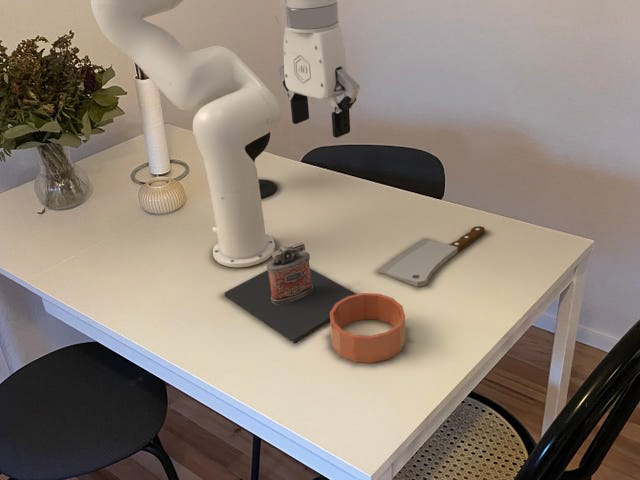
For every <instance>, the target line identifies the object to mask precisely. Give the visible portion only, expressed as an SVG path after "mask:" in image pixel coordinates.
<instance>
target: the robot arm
mask: <svg viewBox="0 0 640 480" xmlns="http://www.w3.org/2000/svg"><path fill="white" fill-rule="evenodd" d="M183 1H184V0H90V7H91V10H92V15H93V17H94V20H95V21H96V23H97V26H98V27H99V29H100V30H101V32H102V33H103V35H104V36H105V37H106V39H107V40H108V41H109V42H110V43H111V44H112V45H113V46H114V47H115V48H116V49H117V50H119V51H120V52H121V53H122V54H124V55H125V56H126V57H128V59H130V60H131V61H132V62H133V63H134V64H135V65H136V66H138V68H139V69H140V70H142V72H143V73H144V74H145V76H147V77H148V79H149V80H150V81H151V82H152V83H153V84H154V86H156V87H157V88H158V89H159V90H160V92H161V93H162V94H163V95H164V96H165V97H166V98H167V99H168V100H169V101H170V102H171V103H172V104H173V105H174V106H175V107H176V108H178V109H179V110H181V111H192V110H195V109H199V110H197V112H196V114H195V115H194V117H193V120H192V132H193V136H194V139H195V141H196V144H197V147H198V148H199V152H200V155H201V158H202V161H203V165H204V169H205V173H206V178H207V184H208V188H209V193H210V200H211V205H212V212H213V217H214V222H215V225H214V226H213V227H212V228H211V229H212V230H211V231H212V232H213V233H214V234H216V236H217V243H215V245H214V246H213V248H212V254H213V258H214V260H215V261H216V262H217V263H218V264H220V265H222V266H225V267H229V268H247V267H248V268H249V267H252V266H256V265H259V264H262V263H264V262H265V261H266V260H268V259H270V257H272V253H273V252H275V250H276V243H275V241H274V239H273V237H271V236H270V235H268V234H267V233H266V226H265V225H266V224H265V219H264V211H263V203H262V199H261V195H260V188H259V180H258V179H259V175H258V169H257V165H256V162H255V163H254V162H253V160H252V159H251V158H250V157H249V156H248V154H247V153H246V151H245V146H246V145H247V144H249V143H251V142H252V141H254V140H256V139H258V138H260V137H262V136H264V135H266V134H267V133H269V132H270V133H271V132H273V131H274V130H275V129H276V127H277V126H278V124H279V123H280V119H281V109H280V105H279V103H278V100H277V99H276V97H275V95H274V94H273V92H271V90H270V89H269V88H268V86H267V85H266V84H265V83H264V82H263V81H262V80H261V79H260V77H259V76H258V75H256V74H255V72H253V70H251V68H250V67H249V66H248V65H247V64H246V63H245V62H244V61H243V60H242V59H241V58H240V57H239V56H238V55H237V54H236V53H235V52H234V51H232V50H231V49H229V48H227V47H224V46H222V45H210V46H207V47H204V48H201V49H198V50H195V51H193V50H188V49H186V48H185V47H184V46H183V45H182V44H181V43H180V42H179V41H178V40H177V38H175V36H173V34H171V33H170V32H168V31H167V30H166V29H164V28H162V27H160V26H159V25H156V24H154V23H151V22H149V21H147V20H146V19H145V18H148V17H151V16H155V15H158V14H162V13H166V12H169V11H171V10H173V9H175V8H177V7H178V6H179V5H180V4H181V3H182V2H183ZM284 3H285V10H286V11H285V12H286V13H285V14H286V22H287V23H286V24H287V25H285V27H284V34H283V65H281V66H280V67H278V72H279V75H280V77H281V80H282V85H283V88H284V89H285V90H286V92H287V93H286V96H287V99H288V100H290V101H289V103H290V111H291V122H292V124H295V125H298V124H300V123H302V122H306V121H308V120H309V119H310V111H309V110H310V109H309V99H308V98H312V99H314V100H319V101H325V100H328V102H329V104H330V106H331V107H332V109H333V111H332V112H331V129H332V136H333V138H336V139H337V138H340V137H343V136H345V135H347V134H349V133H350V132H351V117H350V114H351V113H350V110H351V109H352V108H353V105H354V104H355V103H356V101H357V96H358V94H359V91H360V88H361V87H360V85H359V83H358V82H357V81H356V80H354V78H352V77H351V76H350V75H349V74H348V66H347V57H346V56H347V55H346V49H345V44H344V43H345V42H344V38H343V33H342V29H341V26H340V25H339V7H338V0H284ZM337 97H339V99H340V101H339V100H338V99H337Z"/></svg>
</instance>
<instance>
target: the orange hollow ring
mask: <svg viewBox="0 0 640 480" xmlns="http://www.w3.org/2000/svg"><path fill="white" fill-rule="evenodd" d="M361 320H379V321H382V322H385V323H387V324H390V325H392V326H393V327H392V328H390V329H389V330H387V331H384V332H381V333H377V334H373V335H367V334H366V335H365V334H362V335H361V334H354V333H351V332H349V331H346V330H344V329H342V328H343V327H345V326H347V325H348V324H350V323H353V322H357V321H361ZM329 324H330V337H331V344H332V345H331V346H332V349H334V350H335V351H336V352H337V354H338V355H340V357H342V358H344V359H347V360H349V361H352V362H354V363H365V364H366V363H367V364H375V363H378V362H382V361H385V360H390V359H391V358H392V357H394V356H395V355H397V354H398V353H400V352H401V351H402V349H403V347H404V344H405V342H406V314H405V310H404V307H403V305H402V304H401V303H399V301H397V300H396V299H395V298H393V297H390V296H388V295H385V294H381V293H376V292H375V293H374V292H360V293H356V295H352V296H348V297H346V298H344V299H342V300H341V301H339V302H337V303H336V304H335V305H334V307H333V308H332V310H331V312H330V323H329Z"/></svg>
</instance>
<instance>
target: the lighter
mask: <svg viewBox="0 0 640 480" xmlns="http://www.w3.org/2000/svg"><path fill="white" fill-rule="evenodd" d="M305 250H306V245H305V243H304V242H303V241H300V242H297V243H294V244H291V245H290V246H286V245H283V246H281V247H279V249H278V250H276V251H274V252H273V253H272V255H271V258H272V260H271V261H269V262H267V263H266V270H268V272H269V279H270V286H271V294H272V295H271V301H272V303H274V304H277V305H278V304H283V303H287V302H291V301H294V300H297V299H299V298H302V297H304V296H306V295H308V294H310V293H311V292H312V291H313V285H312V284H311V274H310V269H311V263H310V260H311V255H310V253H309V252H308V251H305Z"/></svg>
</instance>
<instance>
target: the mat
mask: <svg viewBox="0 0 640 480" xmlns="http://www.w3.org/2000/svg"><path fill="white" fill-rule="evenodd" d="M310 274H311V284H312V285H313V291H312V292H311V293H310V294H308V295H306V296H304V297H302V298H299V299H297V300H294V301H291V302H287V303H283V304H278V305H277V304H274V303H272V301H271V295H272V294H271V286H270V279H269V272H268V270H267V269H266V270H264V271H262V272H261V273H259V274H257V275H254V276H253V277H251V278H249V279H247V280H246V281H243V282H242V283H240V284H238V285H236V286H234V287H232V288H230V289H229V290H226V291H224V297H225V298H227V299H229V300H230V301H231V302H233V303H235V304H236V305H238V306H239V307H240V308H242V309H244V310H245V311H246V312H248V313H250V314H251V316H254V317H255V318H257V319H258V320H260V321H261V322H263V323H264V324H266V325H267V326H268V327H270V328H272V330H274V331H276V332H277V333H279V334H280V335H282V336H283V337H285V338H286V339H288V340H289V341H291V342H292V343H294V344H296V343H298V342H299V341H301V340H302V339H303V338H305V337H308V335H310V334H312V333H313V332H315V331H317V330H318V329H320V328H322V327H324V326H325V325H326V324H327V325H328V323H329V322H330V312H331V310H332V308H333V307H334V305H335V304H336V303H337V302H339V301H341V300H342V299H344V298H346V297H348V296H352V295H356V294H357V293H356V292H354V291H352V290H350V289H349V288H346V287H345V286H343V285H341V284H339V283H337V282H336V281H334V280H332V279H330V278H328V277H326V276H325V275H323V274H321V273H319V272H317V271H315V270H314V269H312V268H310Z"/></svg>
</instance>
